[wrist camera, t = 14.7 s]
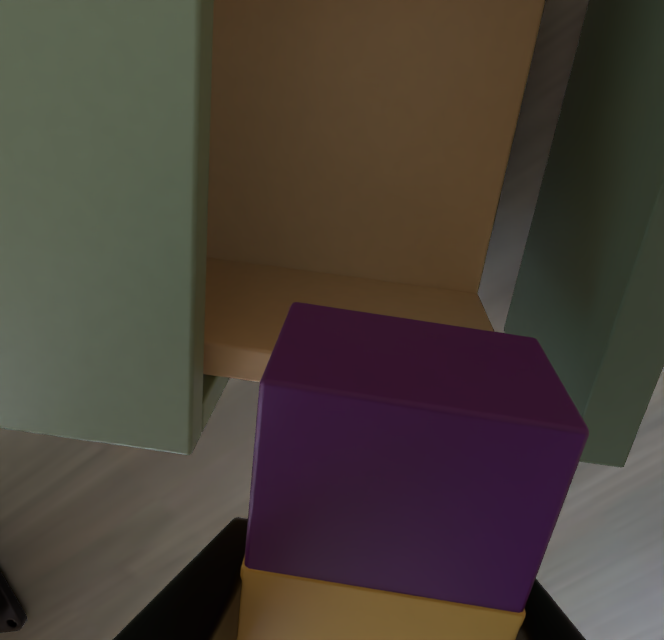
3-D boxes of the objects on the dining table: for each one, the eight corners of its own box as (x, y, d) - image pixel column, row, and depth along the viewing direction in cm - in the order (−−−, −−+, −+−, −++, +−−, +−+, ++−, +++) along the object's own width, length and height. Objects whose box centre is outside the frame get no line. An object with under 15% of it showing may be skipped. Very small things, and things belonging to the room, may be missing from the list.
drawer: (886, -119, 13) (1342, -295, 7) (691, 355, 18) (855, 501, 12) (153, -203, 14) (-38, -440, 7) (157, 282, 19) (44, 386, 12)
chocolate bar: (290, 298, 8) (255, 380, 6) (539, 335, 8) (597, 432, 6) (254, 644, 11) (222, 784, 9) (436, 674, 11) (449, 823, 9)
